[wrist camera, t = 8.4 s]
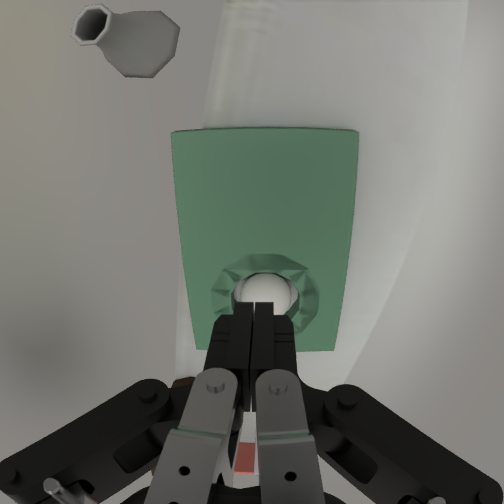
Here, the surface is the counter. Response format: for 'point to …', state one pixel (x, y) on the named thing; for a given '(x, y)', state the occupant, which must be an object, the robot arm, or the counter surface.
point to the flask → (128, 38)
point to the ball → (267, 291)
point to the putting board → (266, 225)
